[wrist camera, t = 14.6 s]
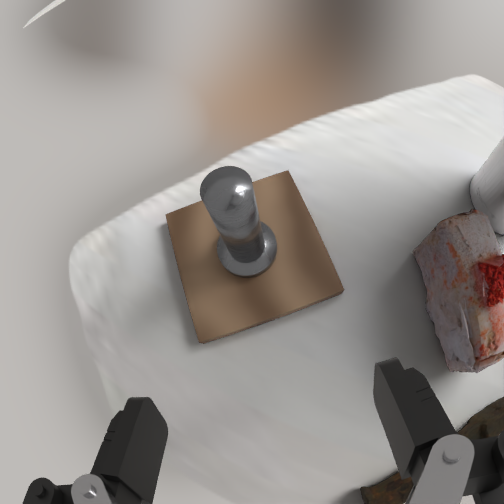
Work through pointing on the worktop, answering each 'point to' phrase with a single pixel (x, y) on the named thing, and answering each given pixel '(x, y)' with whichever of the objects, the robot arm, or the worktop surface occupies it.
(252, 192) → the round metal knob
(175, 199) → the worktop surface
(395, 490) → the hand tool
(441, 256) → the food item
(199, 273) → the walnut board
